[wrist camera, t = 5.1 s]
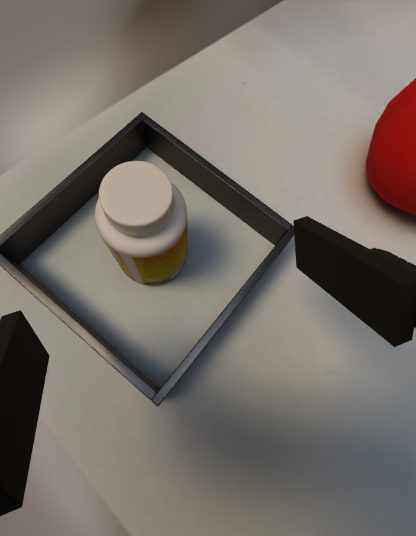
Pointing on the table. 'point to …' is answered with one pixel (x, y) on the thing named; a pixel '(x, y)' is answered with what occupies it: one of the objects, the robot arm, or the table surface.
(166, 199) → the supplement bottle
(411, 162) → the tomato
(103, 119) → the table surface
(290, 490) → the table surface
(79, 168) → the dark grey square frame
